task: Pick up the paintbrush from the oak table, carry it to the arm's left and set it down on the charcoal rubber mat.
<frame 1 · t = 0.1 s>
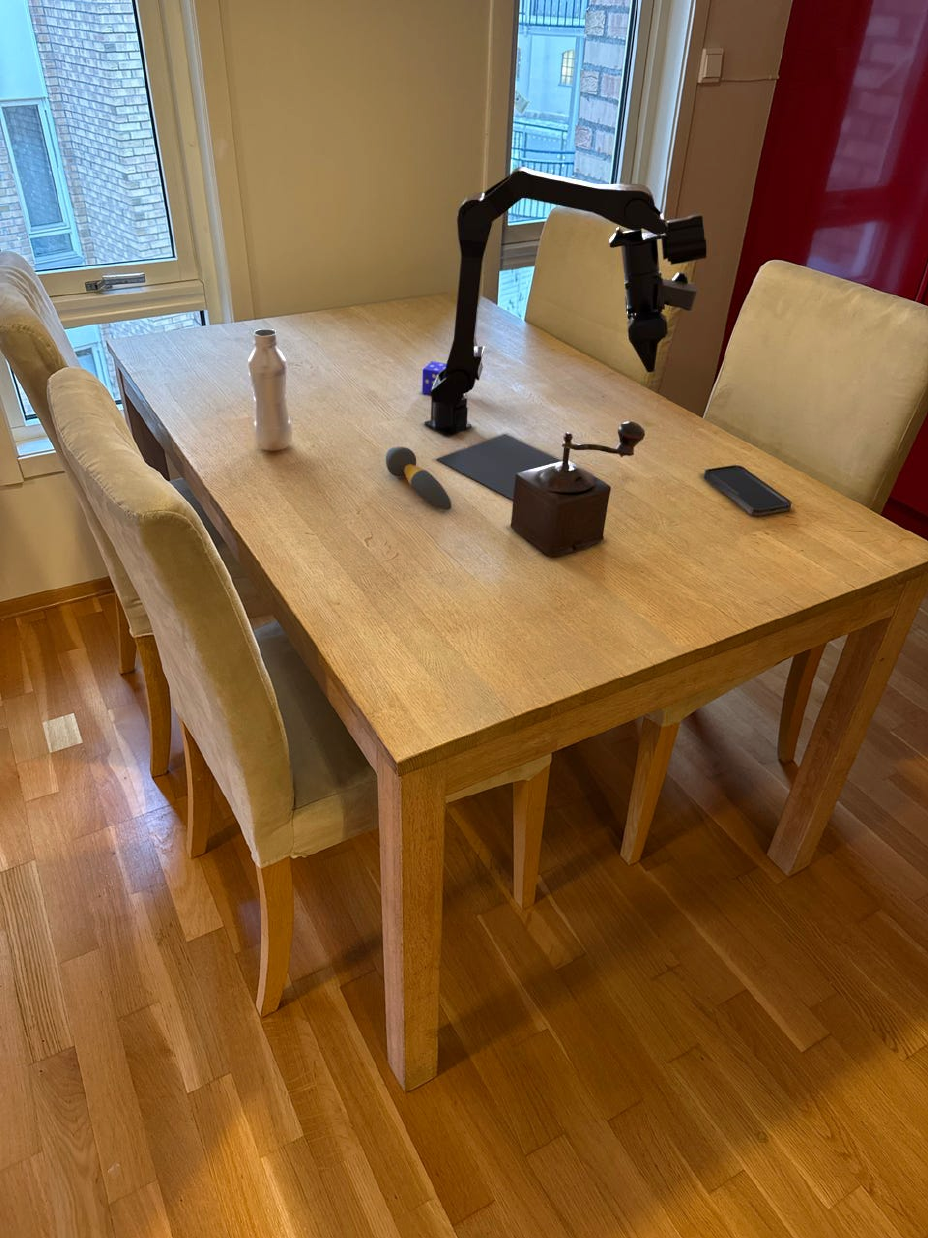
hand: (649, 362, 155), 15 cm above the table, tool pointing down, fingers open, 9 cm apart
manual coffee grinder: (570, 532, 138), on the table
mat: (511, 467, 154), on the table
plastic bottle: (274, 447, 156), on the table
phone: (745, 493, 151), on the table
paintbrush: (419, 488, 147), on the table
die: (437, 392, 181), on the table
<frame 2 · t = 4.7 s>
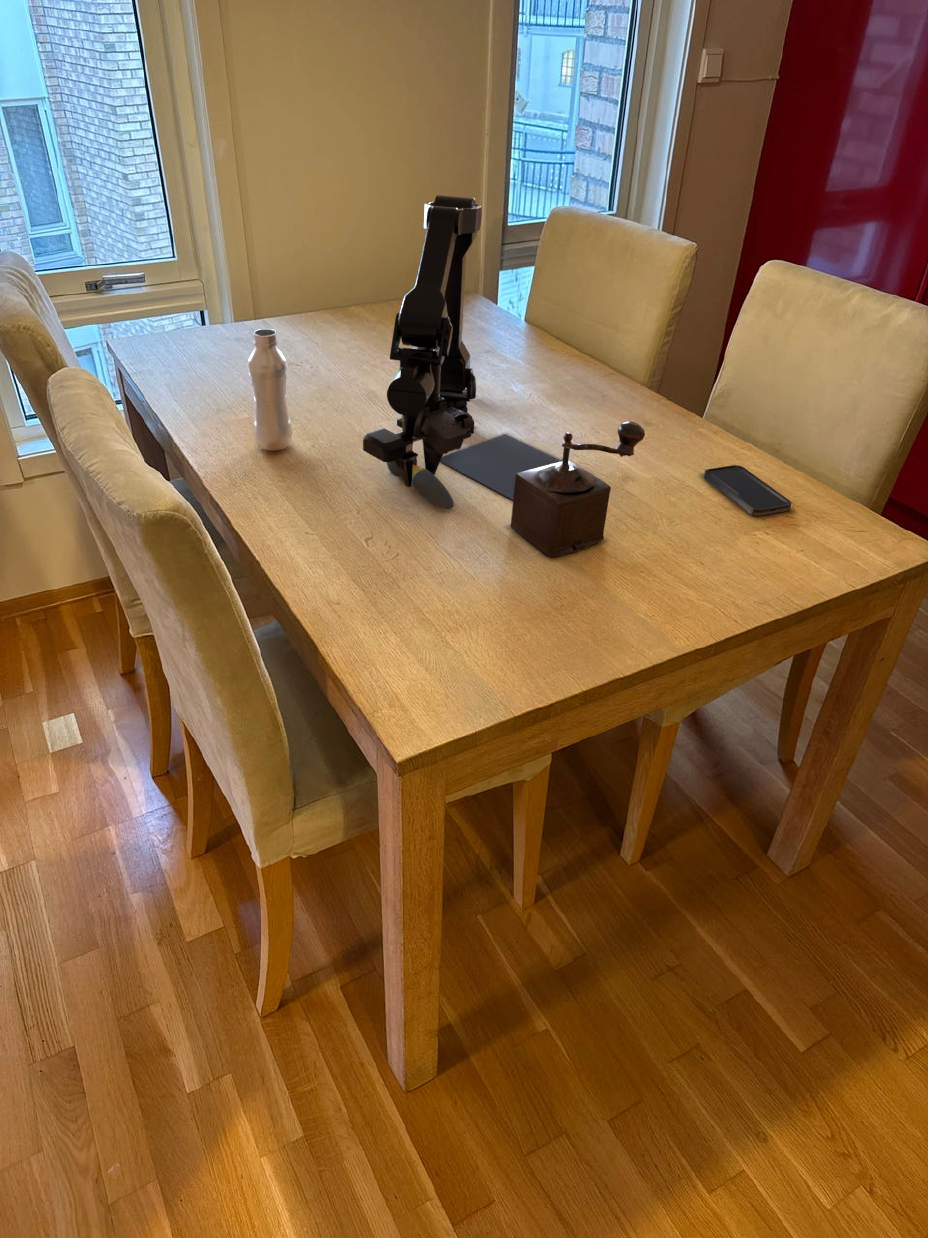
hand: (419, 482, 146), 1 cm above the table, tool pointing down, fingers closed on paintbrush, 4 cm apart
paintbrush: (420, 488, 147), on the table, touching gripper
everything else where it was.
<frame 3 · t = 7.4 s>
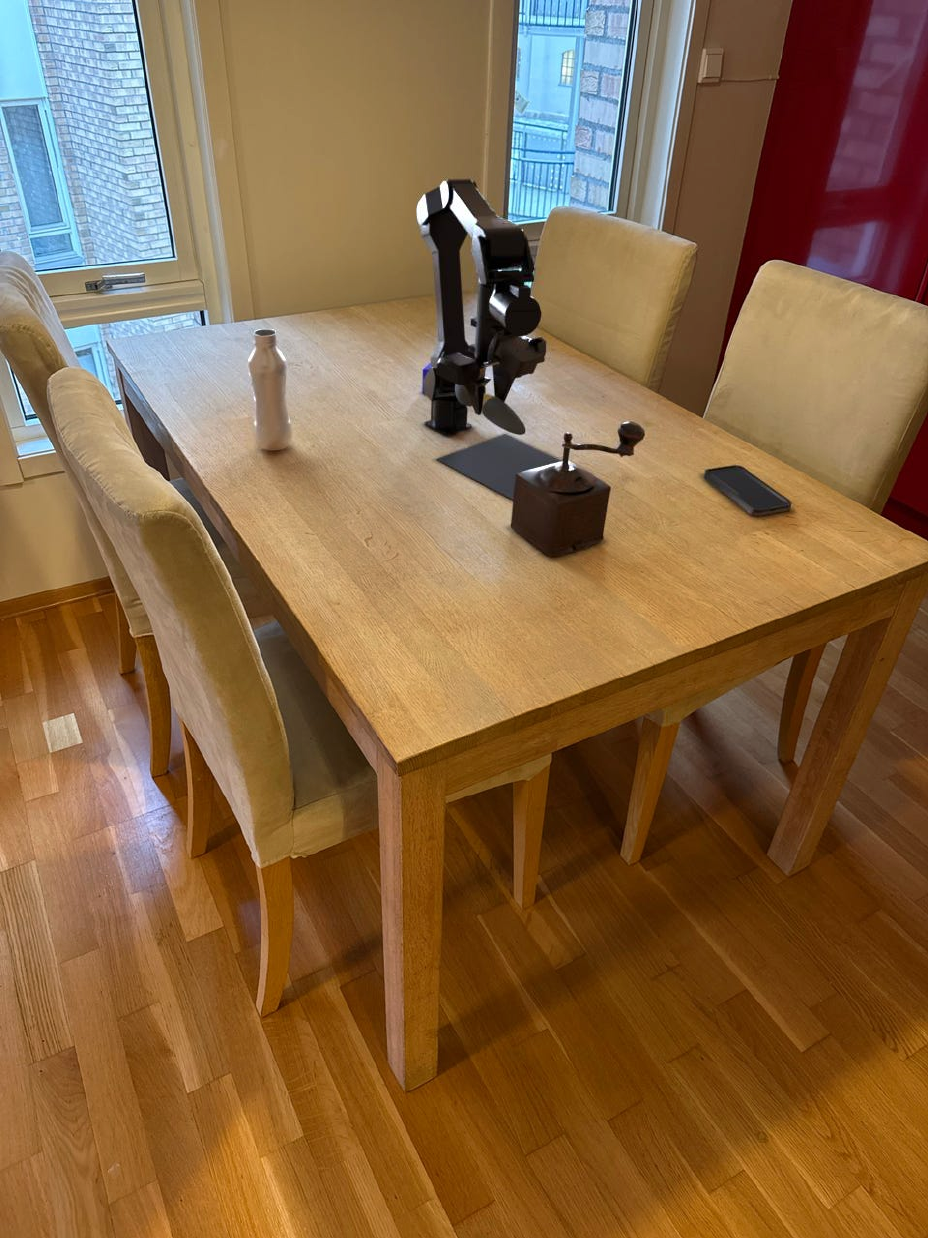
hand: (488, 410, 146), 11 cm above the table, tool pointing down, fingers closed on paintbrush, 4 cm apart
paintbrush: (489, 417, 147), point 10 cm above the table, touching gripper
everything else where it was.
when the fingers open (1 cm above the table, at t = 10.4 s): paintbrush stays where it is, resting on mat.
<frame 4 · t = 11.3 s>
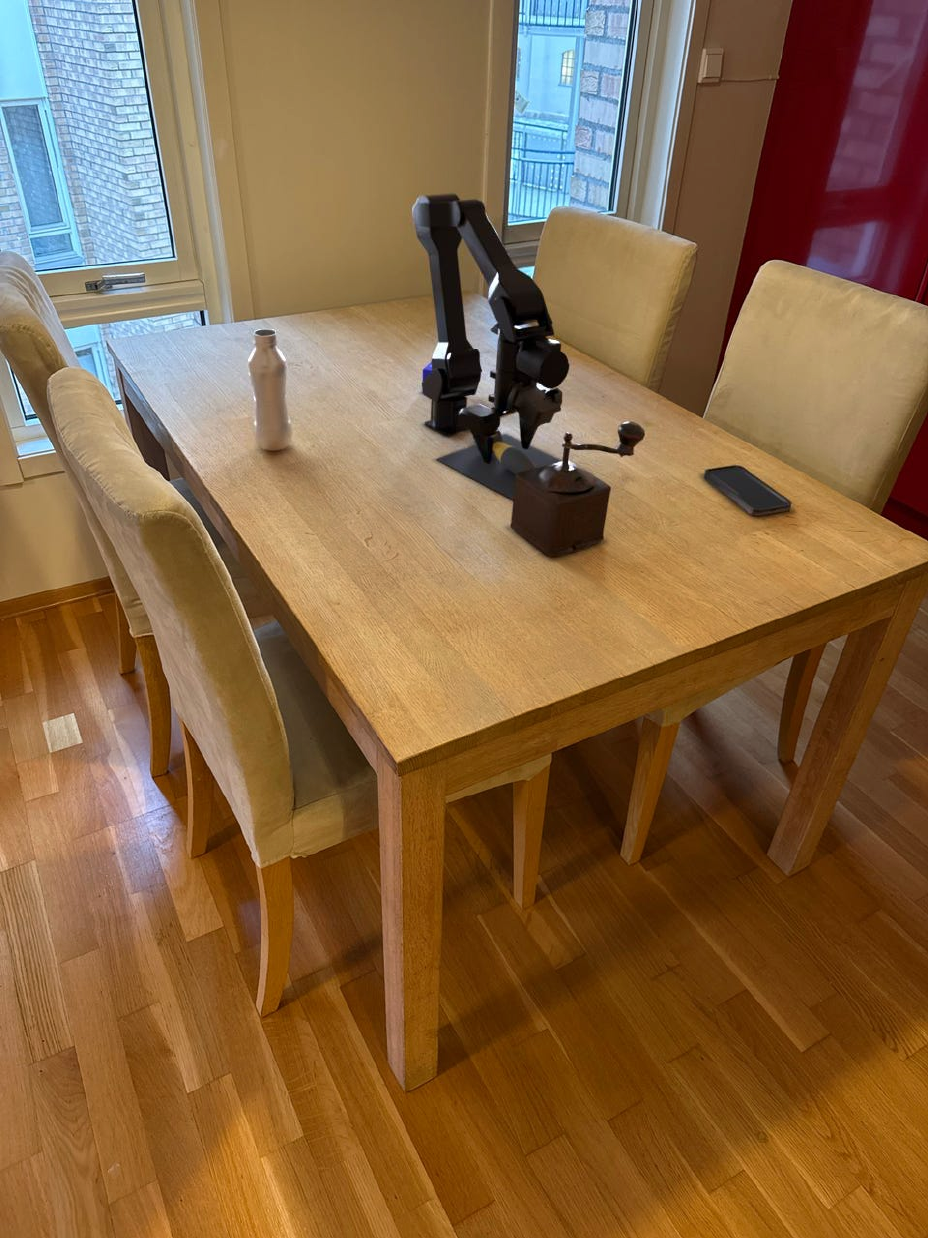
hand: (506, 455, 154), 2 cm above the table, tool pointing down, fingers open, 9 cm apart
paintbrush: (506, 465, 155), resting on mat
everything else where it was.
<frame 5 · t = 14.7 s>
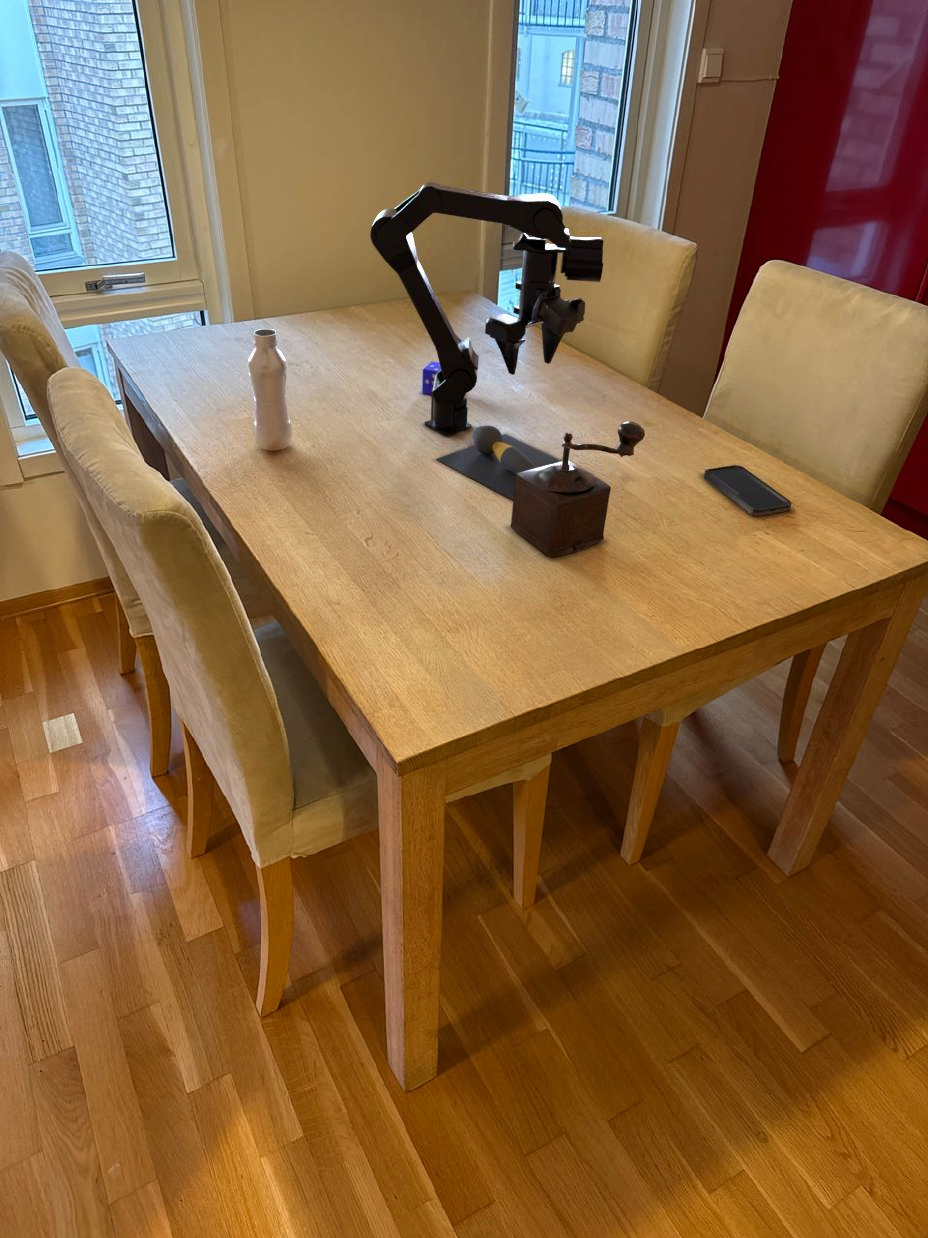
hand: (529, 368, 160), 12 cm above the table, tool pointing down, fingers open, 9 cm apart
nothing on the table moved.
at the end: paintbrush inside the target area (1.1 cm from its centre), resting on mat; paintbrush moved 17.6 cm from its start; the gripper is holding nothing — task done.
